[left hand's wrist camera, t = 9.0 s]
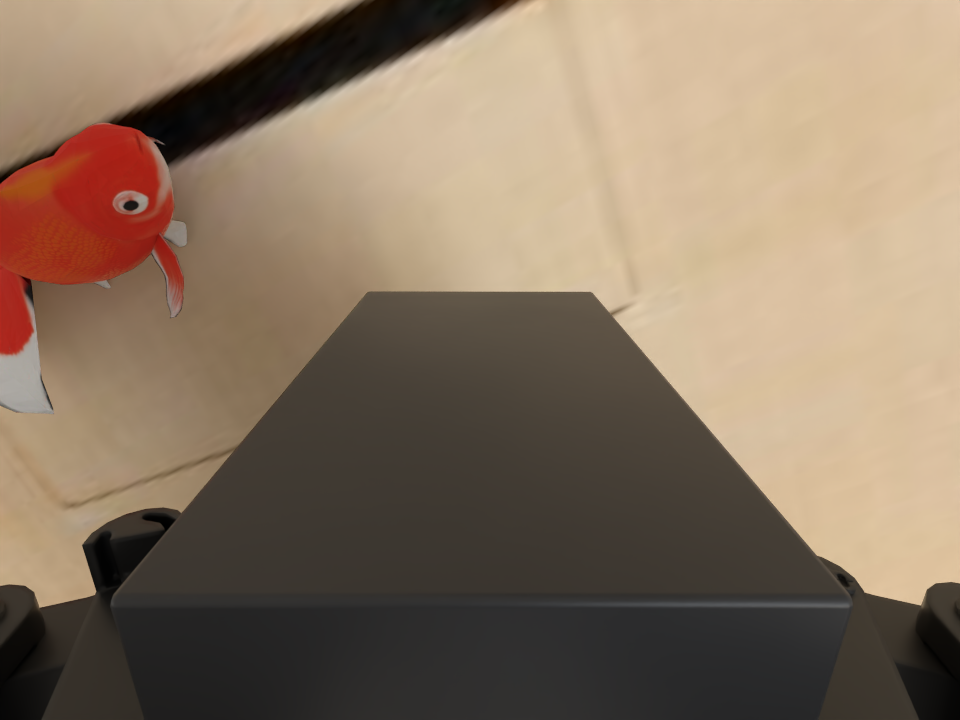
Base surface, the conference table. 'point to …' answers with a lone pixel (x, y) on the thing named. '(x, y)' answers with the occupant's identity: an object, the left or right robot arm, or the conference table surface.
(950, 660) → the left robot arm
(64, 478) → the conference table surface
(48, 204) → the fish
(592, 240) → the conference table surface
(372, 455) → the box
